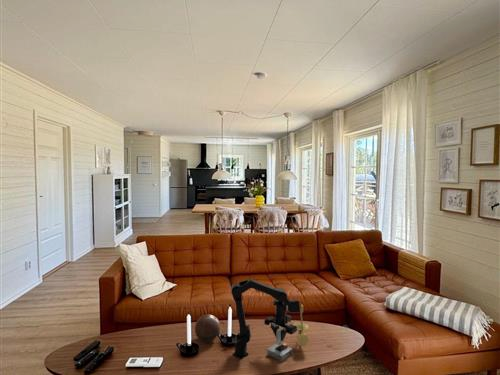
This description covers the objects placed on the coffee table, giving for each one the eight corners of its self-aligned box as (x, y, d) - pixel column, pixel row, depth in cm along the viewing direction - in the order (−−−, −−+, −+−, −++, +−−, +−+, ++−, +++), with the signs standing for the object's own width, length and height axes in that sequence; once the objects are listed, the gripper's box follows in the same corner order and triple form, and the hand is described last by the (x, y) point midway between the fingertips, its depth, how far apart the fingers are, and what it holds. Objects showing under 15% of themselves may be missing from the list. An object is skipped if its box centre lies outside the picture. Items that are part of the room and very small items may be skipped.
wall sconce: (310, 352, 175) (312, 308, 175) (293, 351, 176) (295, 308, 175) (306, 339, 189) (307, 299, 189) (291, 339, 189) (292, 299, 189)
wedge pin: (280, 345, 170) (280, 331, 170) (275, 343, 172) (276, 329, 172) (283, 343, 173) (283, 329, 173) (278, 341, 175) (279, 327, 175)
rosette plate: (282, 361, 166) (282, 353, 166) (267, 354, 172) (267, 346, 172) (292, 353, 173) (292, 346, 173) (277, 347, 180) (277, 339, 180)
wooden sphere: (222, 344, 182) (223, 319, 181) (197, 348, 176) (198, 322, 176) (215, 332, 195) (216, 309, 195) (192, 336, 190) (192, 312, 190)
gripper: (302, 312, 173) (301, 340, 173) (275, 303, 184) (274, 329, 185) (292, 319, 164) (291, 348, 164) (264, 309, 176) (263, 336, 176)
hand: (279, 340), depth 173 cm, fingers closed on wedge pin, 3 cm apart
